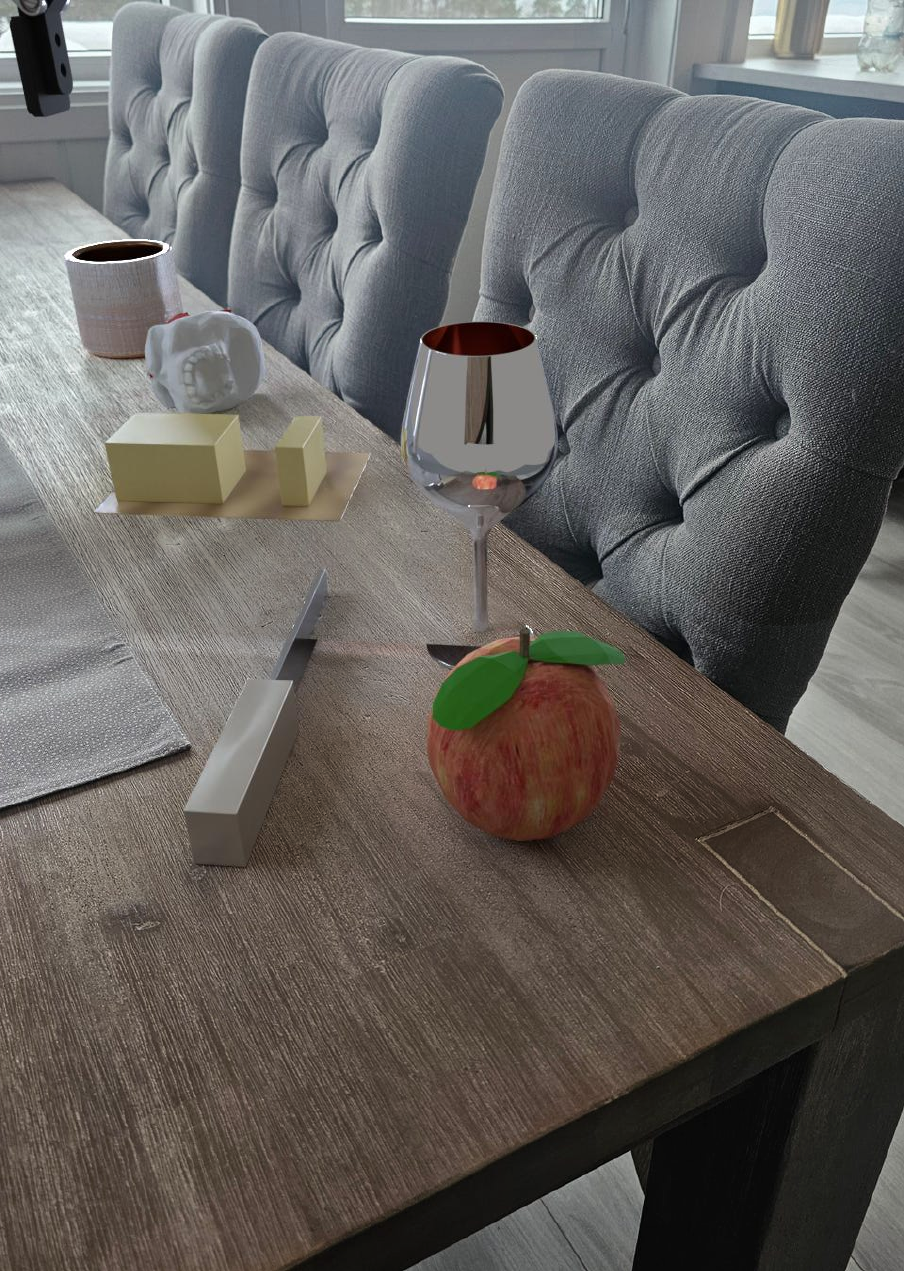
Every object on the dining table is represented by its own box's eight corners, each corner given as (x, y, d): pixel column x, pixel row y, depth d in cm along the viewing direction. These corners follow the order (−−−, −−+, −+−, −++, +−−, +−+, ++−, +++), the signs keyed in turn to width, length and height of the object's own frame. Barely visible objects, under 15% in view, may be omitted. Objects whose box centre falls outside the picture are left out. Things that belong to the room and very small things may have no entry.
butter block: (116, 501, 77) (104, 442, 74) (146, 467, 82) (135, 412, 79) (223, 504, 76) (214, 445, 73) (246, 470, 81) (238, 414, 78)
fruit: (396, 784, 51) (384, 608, 46) (568, 732, 55) (576, 561, 49) (470, 904, 45) (466, 715, 39) (661, 837, 48) (682, 653, 42)
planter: (200, 329, 117) (186, 239, 112) (169, 361, 108) (152, 264, 102) (106, 329, 118) (88, 239, 113) (66, 360, 109) (45, 264, 104)
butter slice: (281, 506, 75) (274, 447, 73) (301, 471, 80) (295, 415, 78) (308, 506, 75) (302, 447, 73) (326, 472, 80) (321, 416, 78)
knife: (246, 868, 47) (236, 813, 45) (193, 864, 47) (182, 810, 45) (345, 611, 65) (341, 566, 64) (307, 609, 66) (302, 564, 64)
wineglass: (576, 632, 63) (591, 329, 53) (503, 700, 57) (505, 376, 47) (461, 595, 67) (456, 306, 57) (383, 655, 61) (361, 347, 51)
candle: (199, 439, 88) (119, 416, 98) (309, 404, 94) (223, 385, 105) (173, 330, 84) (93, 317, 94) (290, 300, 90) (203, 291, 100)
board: (95, 527, 76) (92, 512, 75) (154, 461, 86) (151, 447, 85) (341, 536, 74) (340, 520, 73) (372, 466, 84) (371, 452, 83)
